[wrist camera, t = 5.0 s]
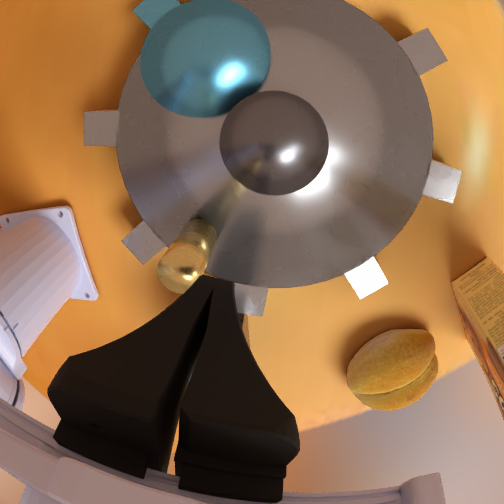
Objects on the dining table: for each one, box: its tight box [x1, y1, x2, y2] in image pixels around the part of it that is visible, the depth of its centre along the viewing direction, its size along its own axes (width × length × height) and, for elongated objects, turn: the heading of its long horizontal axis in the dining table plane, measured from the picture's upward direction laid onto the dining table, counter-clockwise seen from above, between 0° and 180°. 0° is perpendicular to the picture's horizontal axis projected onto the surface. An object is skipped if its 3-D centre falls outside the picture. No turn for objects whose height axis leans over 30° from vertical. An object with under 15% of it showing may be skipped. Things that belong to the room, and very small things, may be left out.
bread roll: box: [347, 329, 438, 411], centre depth 21 cm, size 8×9×4 cm
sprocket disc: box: [84, 0, 462, 316], centre depth 13 cm, size 21×21×6 cm
